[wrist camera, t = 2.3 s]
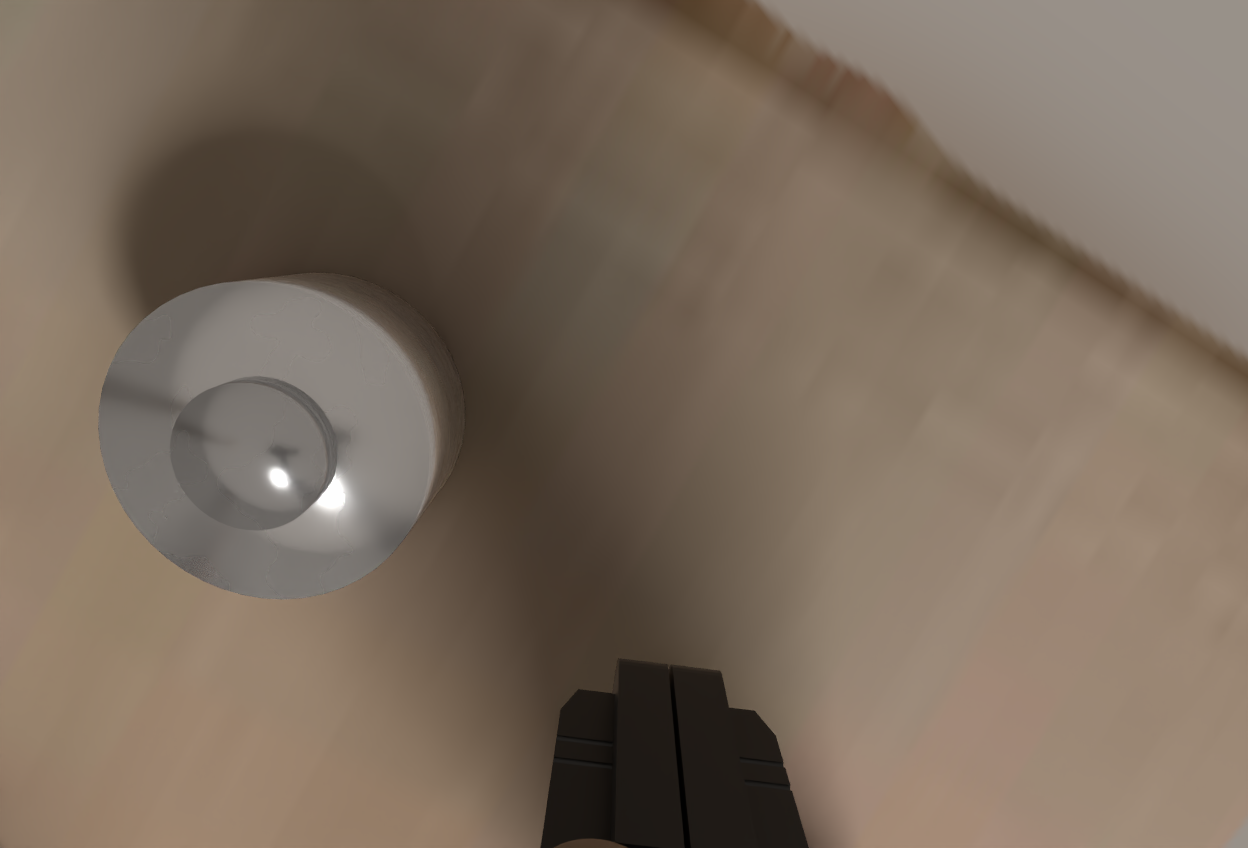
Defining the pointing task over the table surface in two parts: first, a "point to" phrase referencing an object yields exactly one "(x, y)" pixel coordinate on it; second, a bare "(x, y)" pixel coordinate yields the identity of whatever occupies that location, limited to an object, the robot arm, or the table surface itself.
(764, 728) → the robot arm
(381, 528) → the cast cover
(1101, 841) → the table surface
